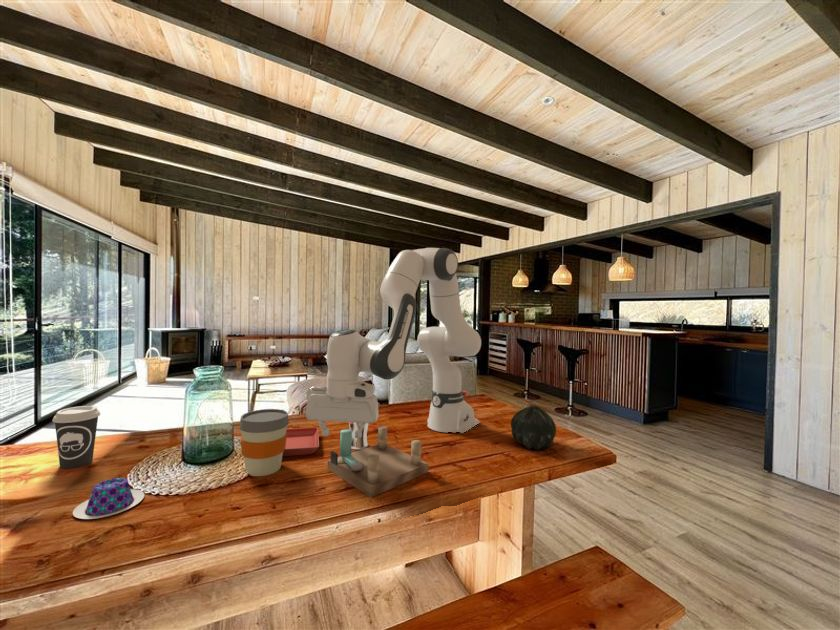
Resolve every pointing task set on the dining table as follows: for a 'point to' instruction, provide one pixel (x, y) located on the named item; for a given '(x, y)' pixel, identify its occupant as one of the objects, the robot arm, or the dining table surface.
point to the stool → (380, 466)
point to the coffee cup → (76, 435)
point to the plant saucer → (301, 441)
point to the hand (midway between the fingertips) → (341, 436)
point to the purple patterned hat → (108, 499)
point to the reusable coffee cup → (263, 440)
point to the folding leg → (348, 450)
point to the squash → (533, 428)
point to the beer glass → (358, 442)
